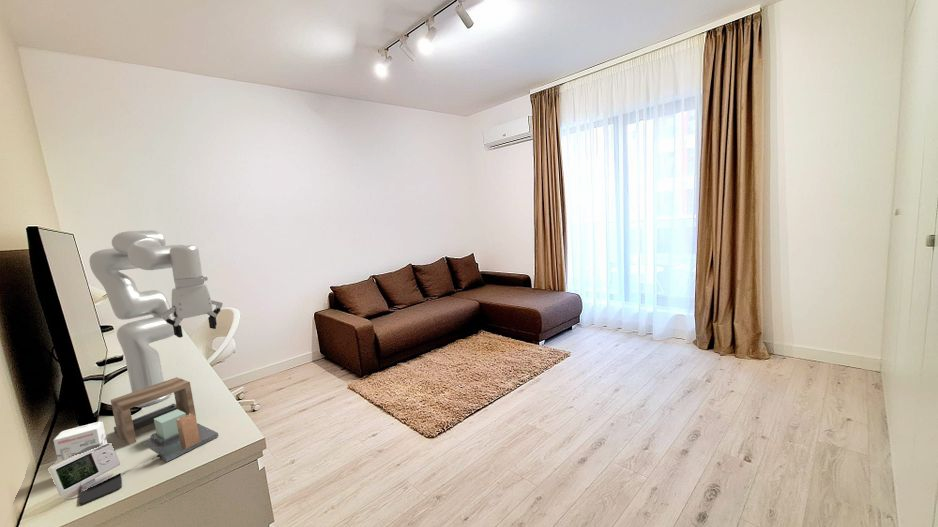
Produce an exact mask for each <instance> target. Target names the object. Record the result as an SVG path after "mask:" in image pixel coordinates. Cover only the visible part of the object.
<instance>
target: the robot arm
mask: <svg viewBox="0 0 938 527" xmlns="http://www.w3.org/2000/svg"><path fill="white" fill-rule="evenodd" d="M111 246H112V248H106V249H99V250H97V251H94V252H92V253H91V255H90V257H89V267H90V270H91V272H92V274H93V275H94V277H95V278H96V279H97V281H99V283H100V284H101V286H102V287H103V288H104V290H105V293H106V296H107V298H108V302H109V304H110V306H111V308H112V312H113V314H114V316H115V317H116V318H117V319H119V320H123V321H124V320H133V319H136V318H142V317H145V316H149V315H152V316H151V317H149V318H144V319H143V318H142V319H138V320H135V321H131V322H127V323H125V324H123V325H121V326H120V327H118V329H117V331H116V338H117V341H118V343H119V345H120V348H121V349H122V353H123V355H124V360H125V364H126V369H127V375H128V379H129V380H128V381H129V385H130V389H131V393H132V392H135V391H138V390H141V389H144V388H147V387H150V386H153V385H156V384H159V383H161V382H164V381H165V380H164V375H163V368H162V364H161V358H160V354H159V351H157V350H156V349H155V348H154V347H152V346H151V345H150V344H152V343H155V342H158V341H162V340H165V339H169V338H171V337H174V336H176V337H177V338H179V339H180V338H183V336H184V335H183V330H182V325H180V324H181V323H182V321H183V320H185V319H190V318H193V317H197V316H202V315H208V318H207V320H208V325H209V329H212V330H216V329H217V317H218V315H219V313H220V312H221V309H222V307H223V302H220V301H217V300H212V299H211V295H210V291H209V289H208V286H207V285H206V284H205V282H206V281H208V277H207V276H204V275H203V271H202V264H201V257H200V250H199V248H198V247H197V246H196V245H192V244H191V245H185V244H173V245H172V244H171V245H166V239H165V237H164V236H163V234H162V233H161V232H159V231H157V230H149V229H148V230H132V231H131V230H130V231H129V230H128V231H123V232H119V233H117V234H116V235H114V236H113V237H112V239H111ZM134 269H136V270H137V269H140V270H143V271H155V270H156V271H157V270H162V269H163V270H165V269H172V275H173V276H172V277H173V282H174V287H175V288H172V289H171V305H170V304H169V301H168V298H167V297H166V295H165V294H164V293H163V292H162V291H160V290H157V289H151V290H145V291H139V290H138V288H137V286H136V283H135V281H134V280H133V279H132V278H131V277H129V276H128V275H127V274H125V273H122V272H120V271H126V270H134ZM213 305H215V308H214V310H213ZM170 306H171V307H170ZM171 395H172V393H171V394H168V395H165V396H163V397H160V398H157V399H155V400H152V401H149V402H146V403H144V404H141V405H138V406H136V407H138V408H144V407H147V406H152V405H154V404H157V403H159V402H162V401H164V400H166V399H168V398H170V397H171Z"/></svg>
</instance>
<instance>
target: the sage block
mask: <svg viewBox="0 0 938 527" xmlns="http://www.w3.org/2000/svg"><path fill="white" fill-rule="evenodd" d="M184 416H186V413H184V412H182V411H180V410H178V409H176V410H174V411H172V412H169V413H167V414H164V415H162V416H159V417H157V418H154V422H153V424H154V427H155V428H154V429H155V433H156V434H157V436H159V437H160V438H162V439H167V438H169V437H171V436H173V435H175V434H178V427H177V422H176V420H177V419H179V418H181V417H184Z"/></svg>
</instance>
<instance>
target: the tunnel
mask: <svg viewBox="0 0 938 527" xmlns="http://www.w3.org/2000/svg"><path fill="white" fill-rule="evenodd" d="M168 394H171V395H172V394H173V395H174V400H175V404H176V406H177V409H178V410H180V411H182V412H184V413H186V415H188V414H192V415H194V416H197V415H196V409H195V403H194V398H193V392H192V387H191V382H190V381H188V380H185V379H183V378H180V377H174V378H171V379H167V380H164V382H161V383H159V384H156V385H153V386H150V387H147V388H144V389H141V390H138V391H135V392H132V391H131V392H130V393H126V394H123V395H120V396H118V397H114V398H113V399H110V404H111V409H112V414H113V417H114V418H113V419H114V424H115V427H116V429H117V437H118V438H119V439H121V440H122V441H124V442H125V443H126V444H128V445H130V446H132V445H133V444H134V445H135V444H136V443H137V438H136V432H135V430H134V427H133V422H132V420H133V418H132V413H131V409H133V407H136V406H138V405H141V404H144V403H146V402H149V401H152V400H155V399H157V398H160V397H163V396H165V395H168Z"/></svg>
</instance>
